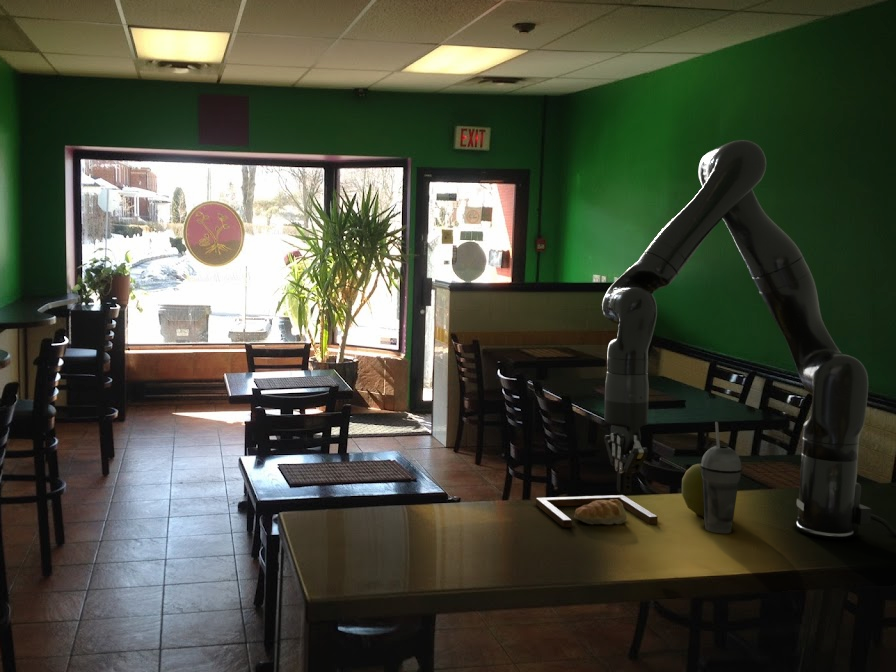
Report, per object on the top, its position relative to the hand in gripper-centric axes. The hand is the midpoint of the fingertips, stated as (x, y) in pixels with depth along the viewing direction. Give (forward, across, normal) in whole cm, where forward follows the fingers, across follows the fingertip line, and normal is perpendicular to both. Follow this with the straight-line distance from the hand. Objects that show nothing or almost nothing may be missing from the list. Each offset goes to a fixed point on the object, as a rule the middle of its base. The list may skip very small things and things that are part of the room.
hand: (623, 492), depth 161 cm
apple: (+8, +9, -22) cm, 25 cm away
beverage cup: (+8, 0, -19) cm, 20 cm away
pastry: (+8, +8, +1) cm, 11 cm away
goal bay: (+7, +11, 0) cm, 13 cm away
